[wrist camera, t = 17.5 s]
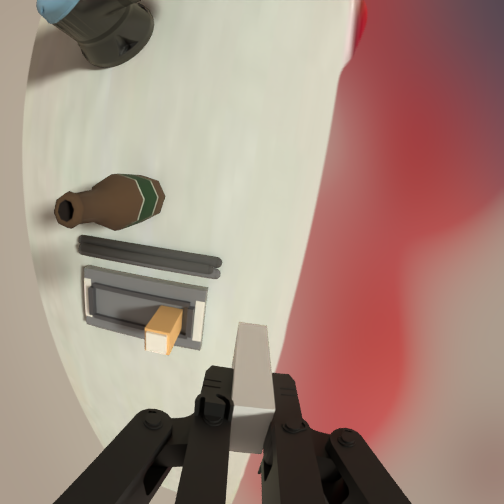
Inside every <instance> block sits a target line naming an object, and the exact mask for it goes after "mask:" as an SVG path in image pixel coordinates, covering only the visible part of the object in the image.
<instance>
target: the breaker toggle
mask: <svg viewBox="0 0 504 504" xmlns="http://www.w3.org/2000/svg"><path fill="white" fill-rule="evenodd" d="M182 313H183V309H179V308H173V307H168V306H163V305H161V306H160V307H159V309H158V310H157V312H156V313H155V314H154V316H153V317H152V318H151V320H150V321H149V323H148V324H147V325H146V327H145V350H147V351H151V352H156V353H160V354H165V355H169V354H170V352H171V350H172V348H173V346H174V344H175V341H176V339H177V337H178V335H179V333H180V331H181V327H182Z"/></svg>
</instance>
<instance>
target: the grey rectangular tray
mask: <svg viewBox="0 0 504 504" xmlns="http://www.w3.org/2000/svg"><path fill="white" fill-rule="evenodd" d="M207 292H208V287H202V286H196V285H190V284H185V283H179V282H173V281H168V280H162V279H157V278H152V277H146V276H141V275H136V274H131V273H126V272H121V271H116V270H111V269H106V268H102V267H97V266H92V265H88V266H86V267H84V293H85V312H86V322H87V324H89V325H92V326H96V327H99V328H103V329H106V330H110V331H114V332H118V333H122V334H126V335H130V336H134V337H138V338H142V339H145V327H146V325H147V324H148V323H149V321H150V320H151V318H152V317H153V316H154V314H155V313H156V312H157V310H158V309H159V307H160V306H161V305H163V306H168V307H173V308H179V309H183V313H182V327H181V331H180V333H179V335H178V337H177V339H176V341H175V344H174V346H179V347H184V348H189V349H195V350H200V349H201V346H202V337H203V328H204V318H205V309H206V301H207Z"/></svg>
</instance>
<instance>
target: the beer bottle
mask: <svg viewBox="0 0 504 504" xmlns="http://www.w3.org/2000/svg"><path fill="white" fill-rule="evenodd" d="M164 199H165V195H164V192H163V190H162V188H161V186H160V183H159V181H157V180H154V179H151V178H148V177H145V176H141V175H129V174H111V175H110V176H108V177H107V178H105V179H104V180H102V181H100V182H99V183H97V184H96V185H95V186H93V187H92V190H89V191H84V192H79V193H73V192H70V191H69V192H67V193H65V194H64V195H63V196H61V197H60V198H59V199H57V200H56V205H55V210H54V214H55V216H56V219H57V221H58V223H59V224H61V225H63V226H65V227H67V228H74V227H75V226H77V225H78V224H83V223H89V222H95V223H97V224H100V225H102V226H104V227H107V228H109V229H112V230H114V231H116V230H121V229H124V228H127V227H129V226H132V225H135V224H138V223H140V222H143V221H145V220H147V219H149V218H151V217H152V216H154V215H156V214H158V213H160V211H161V208H162V205H163V202H164Z"/></svg>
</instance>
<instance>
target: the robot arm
mask: <svg viewBox="0 0 504 504" xmlns="http://www.w3.org/2000/svg"><path fill="white" fill-rule="evenodd" d="M138 1H141V0H37V5H36V6H37V10H38V12H39V14H40V15H41V16H43V17H44V18H45V19H46V20H47V22H48V23H50V24H53V25H54V26H56V27H57V28H59V29H60V30H62V31H63V32H65V33H66V34H68V35H69V36H70V37H72V38H73V39H75V40H76V41H77V42H78V44H79V46H80V48H81V51H82V54H83V56H84V57H85V58H86V59H87V60H88V61H89V62H91V63H92V64H93V65H95V66H98V67H113V66H117V65H119V64H122V63H124V62H126V61H128V60H129V59H131V58H132V57H134V56H135V55H136V54H137V53H139V52H140V51H141V50H142V49H143V47H144V46H145V45H146V44H147V42H148V41H149V39H150V37H151V35H152V32H153V29H154V20H153V17H152V15H151V14H150V12H149V11H148V9H147V8H146V7H145V6H143V5H141V4H139V3H137V2H138ZM297 395H298V394H297V390H296V385H295V381H294V380H293V379H292V377H291V376H290V375H289V374H279V373H272V371H271V361H270V351H269V341H268V331H267V326H265V325H257V324H250V323H243V322H239V325H238V332H237V338H236V344H235V350H234V356H233V362H232V368H226V367H219V366H213V365H212V366H211V367H210V368H209V369H208V370H207V371H206V373H205V377H204V382H203V386H202V390H201V394H199V395H198V396H197V398H196V399H195V410H194V413H193V414H192V415H190V416H187V417H184V418H170V417H169V415H168V414H166V413H165V412H163V411H161V410H157V409H146V410H142V411H140V412H139V413H138V414H136V415H135V417H134V418H133V419H132V420H131V421H130V422H129V423H128V424H127V425H126V426H125V428H124V429H123V430H122V431H121V432H120V433H119V434H118V435H117V436H116V437H115V438H114V440H113V441H112V442H111V443H110V444H109V445H108V446H107V447H106V448H105V449H104V450H103V451H102V453H101V454H100V455H99V456H98V457H97V458H96V459H95V460H94V461H93V462H92V463H91V464H90V465H89V466H88V467H87V469H86V470H85V471H84V472H83V473H82V474H81V475H80V476H79V477H78V478H77V479H76V480H75V481H74V482H73V483H72V485H70V486H69V488H68V489H67V490H66V491H65V492H64V493H63V494H62V495H61V496H60V497H59V498H58V499H57V500H56V501H55V502H54V503H53V504H149V502H150V501H151V499H152V498H153V496H154V495H155V493H156V492H157V490H158V489H159V487H160V486H161V484H162V482H163V481H164V479H165V478H166V476H167V475H168V473H169V472H170V470H171V468H172V467H180V466H183V468H182V472H181V477H180V482H179V486H178V491H177V497H176V501H175V504H225V501H226V487H227V473H228V460H229V451H234V452H243V453H255V454H261V453H262V450H263V453H264V456H263V459H262V462H261V465H260V468H259V471H258V474H261V476H262V477H261V478H262V504H411V502H410V501H409V500H408V498H407V497H406V496H405V495H404V493H403V492H402V490H401V489H400V488H399V486H398V485H397V484H396V482H395V481H394V480H393V478H392V477H391V476H390V474H389V473H388V472H387V470H386V469H385V468H384V466H383V465H382V464H381V462H380V461H379V460H378V458H377V457H376V455H375V454H374V453H373V451H372V450H371V449H370V447H369V446H368V445H367V443H366V442H365V440H364V439H363V438H362V436H361V435H360V434H359V433H358V432H356V431H354V430H352V429H348V428H339V429H336V430H334V431H333V432H332V433H331V435H330V434H326V433H322V432H318V431H315V430H313V429H311V428H310V427H309V425H308V423H307V422H306V421H305V420H304V419H303V418H302V414H301V410H300V404H299V400H298V396H297Z"/></svg>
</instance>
